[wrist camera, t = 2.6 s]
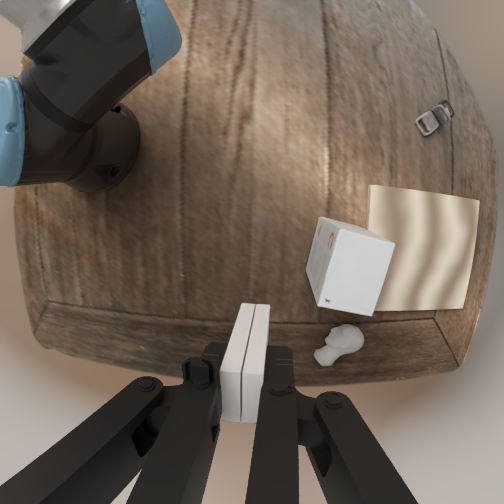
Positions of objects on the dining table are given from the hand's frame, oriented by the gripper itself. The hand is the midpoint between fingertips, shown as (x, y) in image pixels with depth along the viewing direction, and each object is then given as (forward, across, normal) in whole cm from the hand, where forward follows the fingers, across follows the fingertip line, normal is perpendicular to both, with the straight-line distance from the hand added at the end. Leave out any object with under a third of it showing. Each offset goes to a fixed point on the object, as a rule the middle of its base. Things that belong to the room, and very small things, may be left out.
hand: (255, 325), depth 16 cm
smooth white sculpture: (+25, +11, -14) cm, 31 cm away
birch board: (+24, +24, 0) cm, 34 cm away
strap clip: (+25, +25, +21) cm, 41 cm away
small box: (+25, +9, 0) cm, 26 cm away
